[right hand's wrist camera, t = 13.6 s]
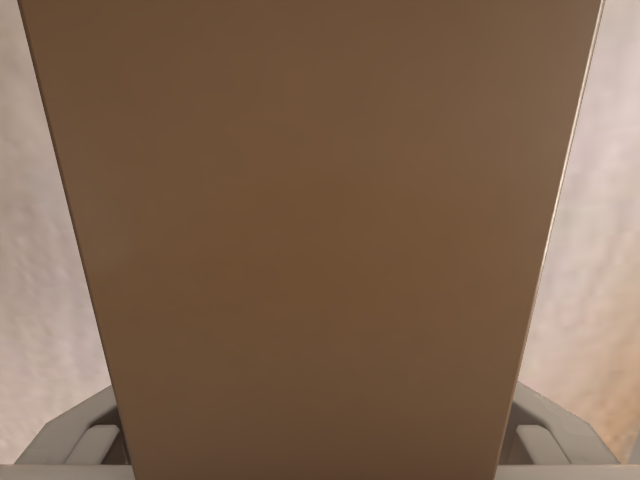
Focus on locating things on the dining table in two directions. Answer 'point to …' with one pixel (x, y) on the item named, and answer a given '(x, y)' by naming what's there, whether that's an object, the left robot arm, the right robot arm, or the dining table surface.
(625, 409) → the dining table surface
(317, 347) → the bar
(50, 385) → the dining table surface
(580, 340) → the dining table surface
